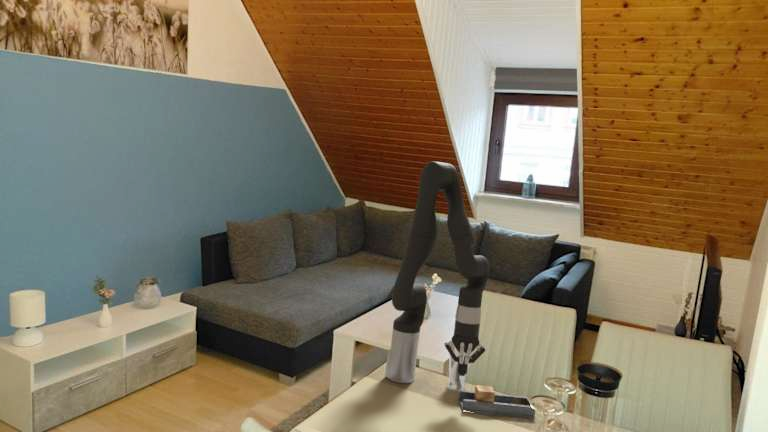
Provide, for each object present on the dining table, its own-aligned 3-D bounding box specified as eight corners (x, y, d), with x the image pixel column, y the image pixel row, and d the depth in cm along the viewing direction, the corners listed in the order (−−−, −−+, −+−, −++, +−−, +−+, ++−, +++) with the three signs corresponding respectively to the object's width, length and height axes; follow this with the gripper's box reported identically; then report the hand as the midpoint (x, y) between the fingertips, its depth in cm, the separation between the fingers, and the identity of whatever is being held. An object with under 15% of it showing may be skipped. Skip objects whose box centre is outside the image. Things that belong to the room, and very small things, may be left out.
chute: (462, 412, 164) (464, 401, 164) (458, 400, 173) (459, 389, 173) (534, 419, 165) (535, 408, 165) (526, 407, 174) (527, 396, 174)
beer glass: (442, 388, 182) (447, 344, 181) (449, 382, 188) (455, 340, 187) (462, 394, 179) (467, 349, 178) (469, 388, 185) (474, 345, 184)
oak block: (476, 406, 166) (478, 391, 166) (473, 400, 171) (475, 384, 171) (492, 408, 167) (494, 392, 166) (489, 401, 172) (491, 386, 171)
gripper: (448, 320, 163) (442, 377, 164) (491, 324, 163) (485, 381, 164) (444, 314, 171) (438, 369, 171) (486, 318, 171) (480, 372, 172)
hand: (461, 374), depth 168 cm, fingers closed
